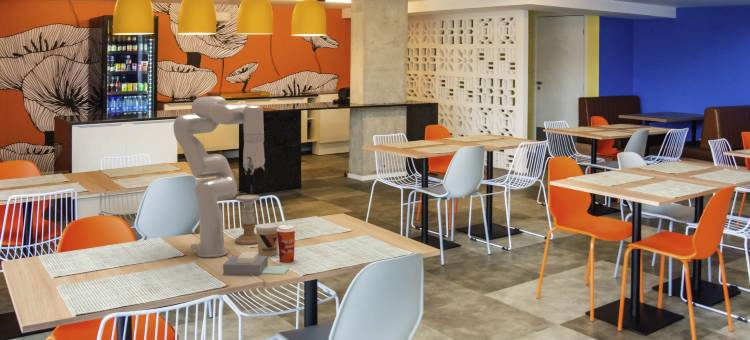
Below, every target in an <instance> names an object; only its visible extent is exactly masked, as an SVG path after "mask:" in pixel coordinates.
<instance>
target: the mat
mask: <svg viewBox="0 0 750 340" xmlns="http://www.w3.org/2000/svg"><path fill="white" fill-rule="evenodd" d="M290 268H291V266H290V265H289V266H287V265H284V266H283V265H268V266H267V267H266V268H265V269H264V270H263V272H262V273H261V275H285V274H287V272H288V270H289V269H290Z"/></svg>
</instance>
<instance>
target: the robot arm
mask: <svg viewBox="0 0 750 340" xmlns="http://www.w3.org/2000/svg"><path fill="white" fill-rule="evenodd" d="M191 111H192V113H186V114H182V115H179V116H177V117H176V118H175V119H174V121H173V125H172V127H173V134H174V138H175V139H176V141H177V143H178V145H179V147H180V148H181V149H182V151H183V153H184V157H185V159H186V161H187V164H188V166H189V170H190V172H191V174H192V176H193V177H194V178H195V179H201V180H199V182H197V184H196V185H195V190H194V191H195V196H196V201H197V207H198V219H199V221H198V222H199V223H198V224H199V240H200V242H199V243H198V244H197V243H191V244H190V248H191V250H197V251H196V256H197V257H199V258H204V259H205V258H209V259H211V258H212V259H213V258H221V257H224V256H226V255H228V254H229V250H228V249H227V248H225V244H224V243H225V242H224V240H225V239H224V217H223V209H222V208H221V205H220V204H219V203H218V202H219V201H225V200H231V199H234V198H236V197H237V194H238V184H237V182H236V179H235V175H234V173H233V171H232V168H231V166H230V164H229V161H228V159H227V158H226V157H225V156H224V155H223V154H220V153H211V154H209V153H208V152H207V150H206V149H205V146H204V144H203V142H202V141H201V140H200V139H198V138H197V137H196V136H194V135H196V134H197V135H198V134H208V133H212V132H214V131H215V130H216V129H217V128H218V126H219V125H224V126H225V125H227V126H230V125H241V124H243V127H242V128H243V142H244V143H243V154H242V155H243V156H242V160H243V162H242V165H243V166H242V167H243V168H244V174H245V185H247V186H254V185H255V180H256V181H257V182H263V181H265V169H266V168H265V165H266V158H265V145H264V142H265V131H264V129H265V128H264V127H265V125H264V108H263V106H262V105H258V104H251V103H236V104H231V103H230V104H228V102H227V99H225V98H224V97H222V96H219V95H211V96H209V95H208V96H201V97H200V96H199V97H198V98H195V99H194V100H193V102H192V104H191ZM255 169H256V170H255ZM254 171H255V174H254ZM255 177H256V179H255Z"/></svg>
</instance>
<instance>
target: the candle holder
mask: <svg viewBox="0 0 750 340" xmlns="http://www.w3.org/2000/svg"><path fill="white" fill-rule="evenodd" d="M260 198H261V197H260V195H257V194H242V195H239V196H237V195H236V196H235V200H236V201H237V202H241V204H243V208H242V212H243V217H242V223H243V225H242V226H241V228H242V229H243V234H241V235H239V236H237V237H236V238H235V239H234V241H235V243H236V244H237V245H240V246H241V245H242V246H243V245H245V246H250V245H251V246H253V245H258V243H257V233H256V232H255V229H256V227H257V225H255V224H254V223H255V221H256V219H255V216H254V211H255V209H254V207H253V204H254V203H255V201H258V200H260ZM252 244H253V245H252Z"/></svg>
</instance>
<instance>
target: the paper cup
mask: <svg viewBox="0 0 750 340" xmlns="http://www.w3.org/2000/svg"><path fill="white" fill-rule="evenodd" d="M296 230H297V229H296V228H295V225H293V224H282V225H278V227H277V230H276V231H277V234H278V255H279V262H280V263H285V264H286V263H294V261H295V244H296V243H295V240H296V239H295V237H296Z"/></svg>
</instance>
